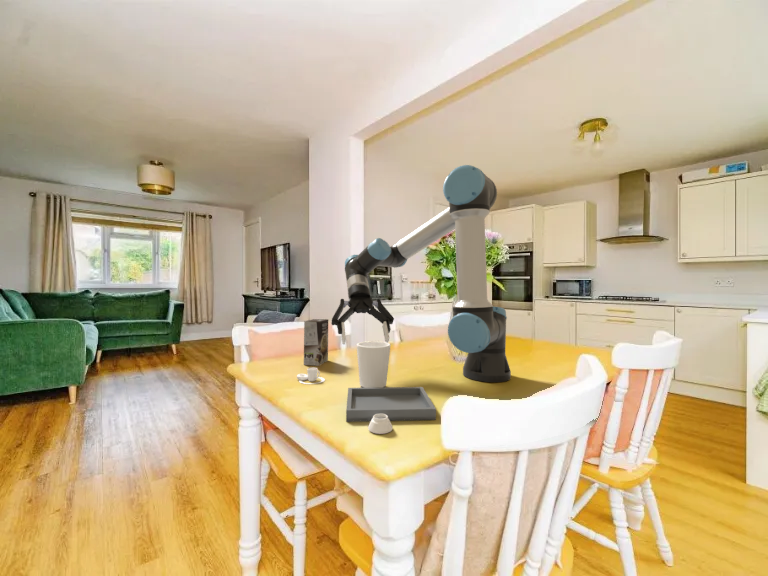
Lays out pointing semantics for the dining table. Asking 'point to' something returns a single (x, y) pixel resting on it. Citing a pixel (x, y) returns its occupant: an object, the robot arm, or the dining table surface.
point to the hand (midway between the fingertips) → (366, 341)
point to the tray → (389, 404)
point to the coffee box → (315, 342)
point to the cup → (373, 363)
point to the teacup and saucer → (310, 376)
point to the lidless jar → (380, 424)
